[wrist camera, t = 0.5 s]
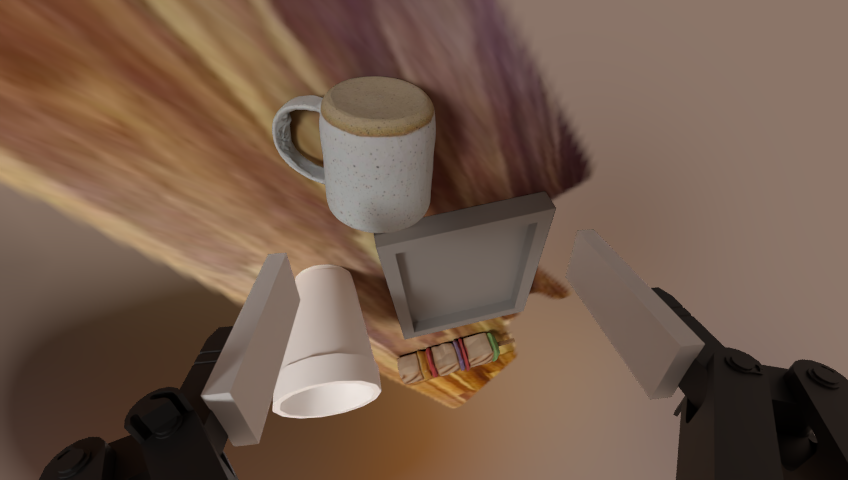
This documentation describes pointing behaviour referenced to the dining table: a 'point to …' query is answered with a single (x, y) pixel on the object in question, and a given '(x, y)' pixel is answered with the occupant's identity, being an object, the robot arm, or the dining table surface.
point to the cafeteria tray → (465, 263)
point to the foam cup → (326, 349)
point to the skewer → (450, 357)
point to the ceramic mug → (368, 151)
